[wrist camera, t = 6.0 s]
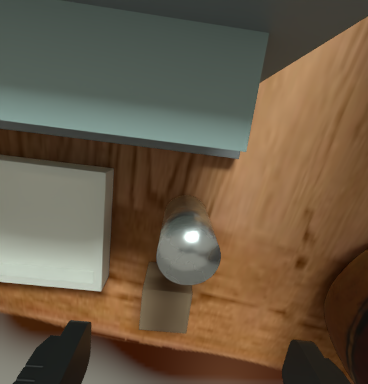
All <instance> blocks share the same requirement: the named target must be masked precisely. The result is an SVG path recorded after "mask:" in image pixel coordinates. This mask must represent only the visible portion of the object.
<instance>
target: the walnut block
mask: <svg viewBox="0 0 368 384" xmlns="http://www.w3.org/2000/svg"><path fill="white" fill-rule="evenodd" d="M191 300H192V285H181V284H177V283H175V282H172V281H171V280H169V279H168V278H166V277H165V276H164V275H163V274H162V272H161V271H160V269H159V267H158V264H157V262H149V265H148V269H147V273H146V277H145V282H144V286H143V292H142V302H141V313H140V324H139V329H140V330H151V331H163V332H174V333H186V331H187V325H188V318H189V312H190V306H191Z"/></svg>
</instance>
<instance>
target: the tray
mask: <svg viewBox="0 0 368 384" xmlns="http://www.w3.org/2000/svg"><path fill="white" fill-rule="evenodd" d="M113 179H114V168H107V167H98V166H90V165H82V164H74V163H66V162H57V161H49V160H41V159H33V158H24V157H16V156H8V155H0V282H7V283H17V284H28V285H38V286H49V287H59V288H70V289H80V290H91V291H102V289H103V287H104V285H105V283H106V281H107V279H108V277H109V262H110V241H111V221H112V200H113Z"/></svg>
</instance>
